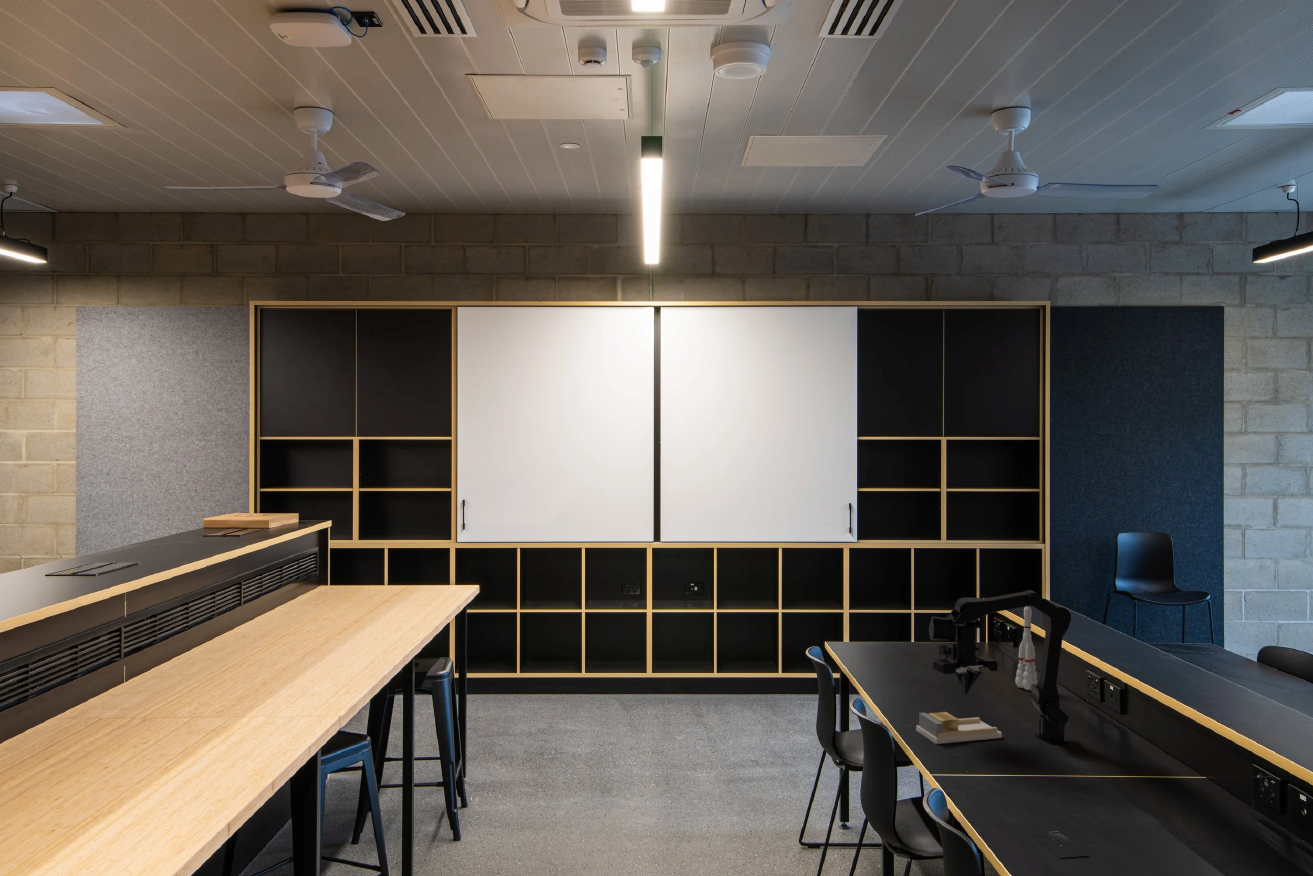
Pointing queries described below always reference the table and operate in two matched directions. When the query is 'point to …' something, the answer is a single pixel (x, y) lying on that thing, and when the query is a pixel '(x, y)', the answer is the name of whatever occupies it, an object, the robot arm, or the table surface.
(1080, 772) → the table surface
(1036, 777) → the table surface
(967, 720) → the track
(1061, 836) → the solid state drive
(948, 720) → the block
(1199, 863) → the table surface
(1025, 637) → the rocket model
